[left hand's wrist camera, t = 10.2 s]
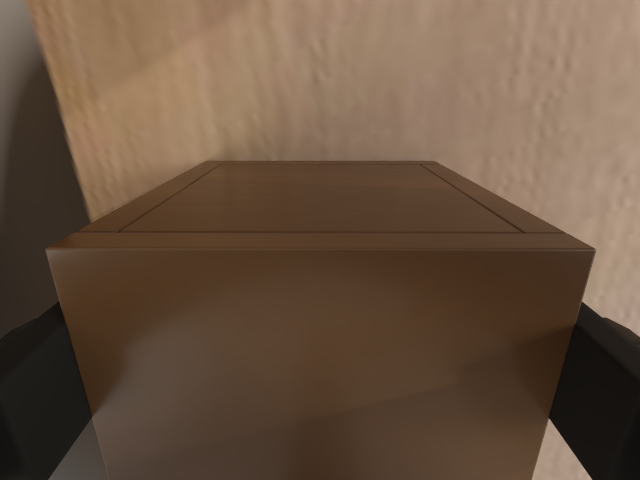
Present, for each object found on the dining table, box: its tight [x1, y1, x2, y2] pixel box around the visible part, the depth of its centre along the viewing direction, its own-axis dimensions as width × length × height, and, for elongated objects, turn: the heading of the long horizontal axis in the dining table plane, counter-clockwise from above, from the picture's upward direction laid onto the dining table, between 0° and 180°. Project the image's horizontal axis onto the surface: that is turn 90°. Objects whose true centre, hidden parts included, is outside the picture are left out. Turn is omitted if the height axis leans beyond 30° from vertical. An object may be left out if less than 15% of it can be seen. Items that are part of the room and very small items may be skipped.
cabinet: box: [45, 161, 596, 480], centre depth 16 cm, size 17×11×12 cm, turn 0°
